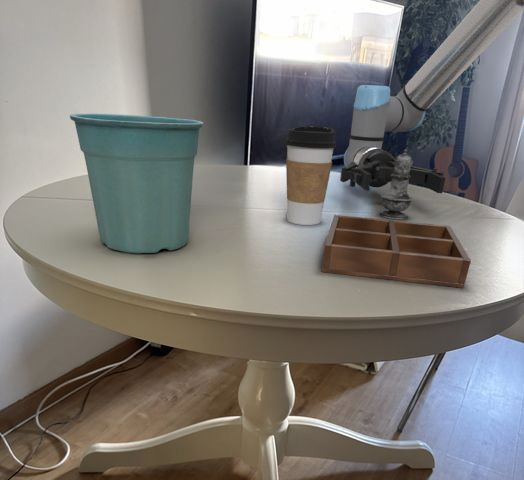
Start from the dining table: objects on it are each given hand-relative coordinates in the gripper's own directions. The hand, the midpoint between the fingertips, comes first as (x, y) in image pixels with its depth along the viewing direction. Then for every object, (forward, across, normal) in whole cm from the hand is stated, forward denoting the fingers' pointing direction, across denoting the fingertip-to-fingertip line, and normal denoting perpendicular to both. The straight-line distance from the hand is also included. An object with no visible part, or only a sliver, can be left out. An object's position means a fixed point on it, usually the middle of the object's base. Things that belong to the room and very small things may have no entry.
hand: (405, 184), depth 86 cm
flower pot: (+20, +43, -7) cm, 48 cm away
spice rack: (+24, +9, -6) cm, 26 cm away
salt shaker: (-3, 0, -7) cm, 7 cm away
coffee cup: (+3, +18, -7) cm, 20 cm away
